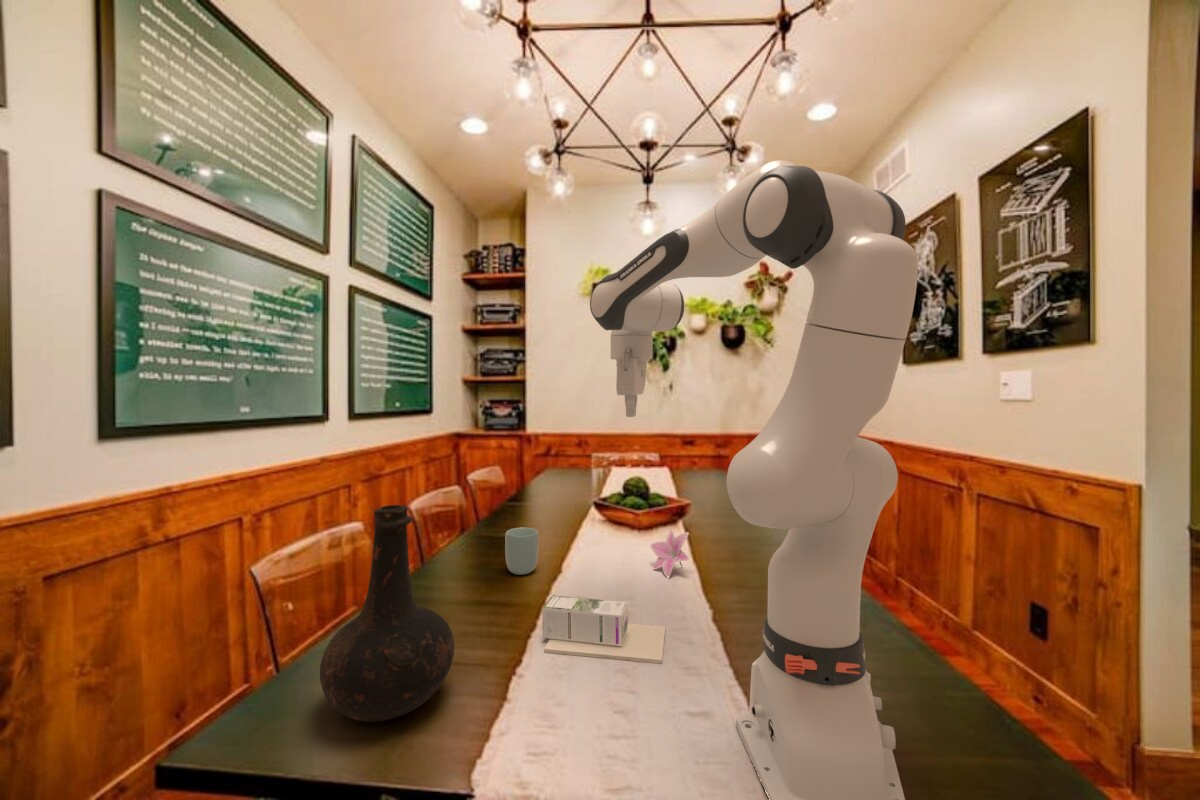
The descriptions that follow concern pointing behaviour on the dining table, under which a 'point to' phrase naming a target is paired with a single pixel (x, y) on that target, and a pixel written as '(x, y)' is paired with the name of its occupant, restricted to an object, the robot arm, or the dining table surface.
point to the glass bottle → (387, 637)
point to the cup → (521, 550)
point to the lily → (669, 552)
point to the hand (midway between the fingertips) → (630, 416)
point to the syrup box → (585, 620)
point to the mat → (636, 646)
